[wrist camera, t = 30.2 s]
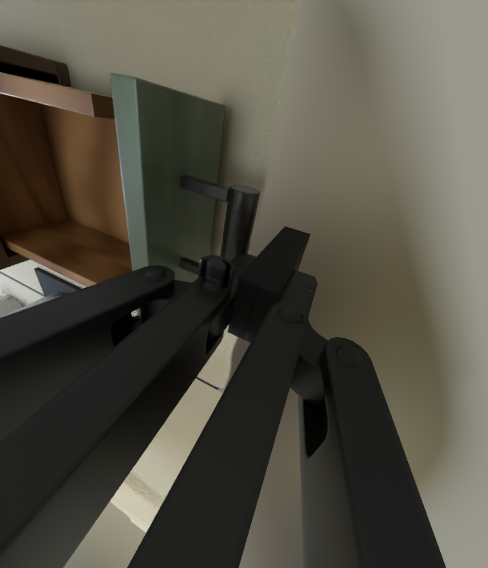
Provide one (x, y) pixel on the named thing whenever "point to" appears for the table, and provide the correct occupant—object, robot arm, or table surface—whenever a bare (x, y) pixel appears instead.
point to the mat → (53, 283)
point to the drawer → (114, 179)
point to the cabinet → (38, 70)
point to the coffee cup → (8, 305)
